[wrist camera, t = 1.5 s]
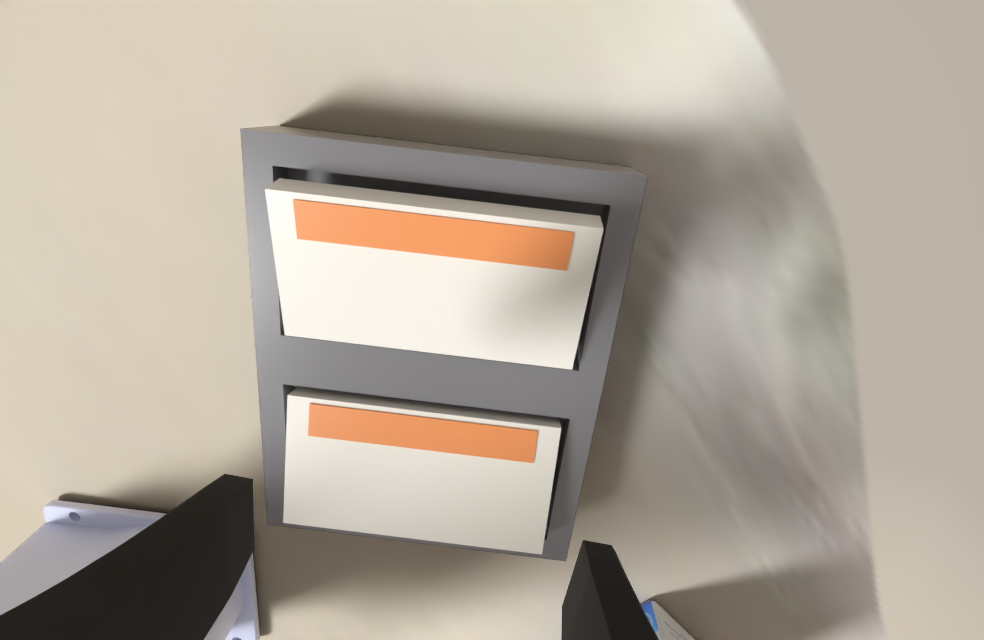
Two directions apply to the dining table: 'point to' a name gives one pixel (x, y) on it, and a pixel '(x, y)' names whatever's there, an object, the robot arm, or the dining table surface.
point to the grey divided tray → (436, 374)
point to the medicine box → (664, 623)
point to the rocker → (431, 272)
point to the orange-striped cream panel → (419, 469)
